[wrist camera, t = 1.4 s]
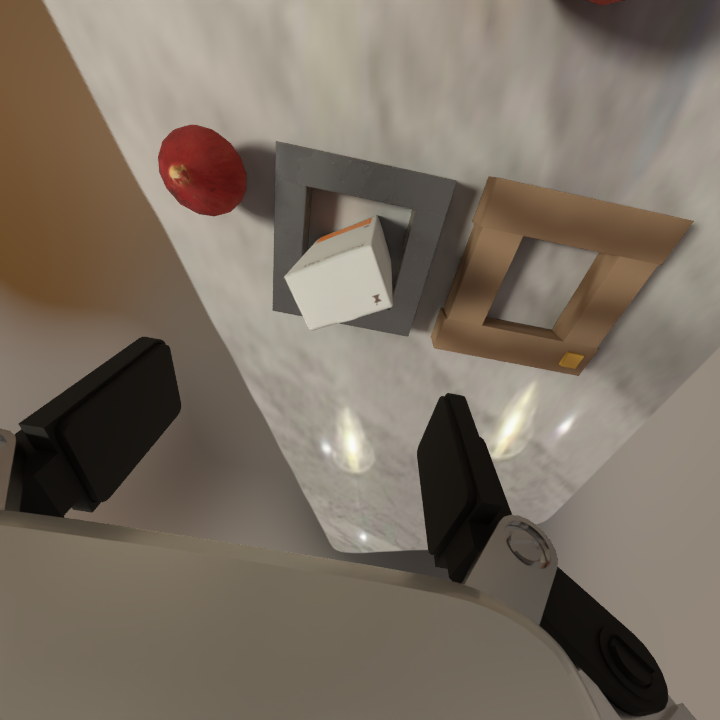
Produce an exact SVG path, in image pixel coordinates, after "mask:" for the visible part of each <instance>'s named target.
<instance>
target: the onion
mask: <svg viewBox="0 0 720 720" xmlns="http://www.w3.org/2000/svg"><path fill="white" fill-rule="evenodd" d="M158 162H159V172H160V175H161V177H162V179H163V181H164V184H165V186H166V188H167V189H168V190H169V192H170V193H171V194H172V195H173V196H174V197H175V199H176V200H177V201H178V202H179V203H180V204H181V205H183V206H185V207H187V208H189V209H190V210H192V211H194V212H196V213H198V214H202V215H209V216H217V215H221V214H225V213H228V212H231V211H232V210H233V209H234V208H235V207H236V206H237V205H238V204H239V203H240V202H241V201H242V199H243V197H244V194H245V191H246V171H245V168H244V165H243V163H242V160H241V157H240V156H239V154H238V153H237V152H236V150H235V149H234V147H233V146H232V145H231V143H230V142H228V141H227V140H226V139H225V138H223V137H222V136H221V135H219V134H218V133H217V132H215V131H214V130H212V129H209V128H205V127H202V126H198V125H188V126H184V127H181V128H177V129H175V130H173V131H172V132H171V133H170V134H169V135H168V136H167V137H166V138H165V139H164V140H163V142H162V145H161V149H160V152H159V156H158Z"/></svg>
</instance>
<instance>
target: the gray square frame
mask: <svg viewBox="0 0 720 720" xmlns="http://www.w3.org/2000/svg"><path fill="white" fill-rule="evenodd" d="M456 182H457V181H456V180H452V179H447V178H443V177H438V176H434V175H429V174H424V173H420V172H415V171H411V170H406V169H402V168H397V167H393V166H388V165H383V164H379V163H374V162H370V161H365V160H361V159H356V158H351V157H347V156H342V155H338V154H333V153H329V152H324V151H320V150H315V149H310V148H306V147H301V146H297V145H292V144H288V143H283V142H278V141H276V164H275V218H274V272H273V311H278V312H283V313H288V314H294V315H299V316H302V314H301V311H300V309H299V307H298V305H297V303H296V301H295V299H294V297H293V295H292V292H291V290H290V288H289V286H288V284H287V282H286V280H285V278H284V276H285V275H286V274H287V273H288V272H289V271H290V270H291V269H292V267H293V266H294V265H295V264H296V263H297V262H298V261H299V260H300V259H301V257H302V256H303V255H304V254H305V253H306V252H307V247H308V235H309V222H310V210H311V197H312V187H313V188H318V189H322V190H327V191H332V192H336V193H341V194H346V195H350V196H355V197H360V198H364V199H369V200H374V201H378V202H383V203H388V204H393V205H397V206H402V207H407V208H411V209H412V213H411V217H410V221H409V225H408V229H407V233H406V237H405V241H404V245H403V249H402V253H401V257H400V261H399V265H398V269H397V273H396V277H395V281H394V285H393V289H392V299H393V306H392V307H391V308H388V309H384V310H381V311H378V312H374V313H371V314H368V315H365V316H362V317H359V318H356V319H354V320H351V321H347V322H342V323H340V324H345V325H351V326H356V327H361V328H366V329H371V330H377V331H382V332H387V333H392V334H397V335H402V336H408V335H409V332H410V329H411V326H412V322H413V319H414V316H415V313H416V310H417V306H418V303H419V300H420V297H421V294H422V290H423V287H424V284H425V281H426V278H427V274H428V271H429V268H430V265H431V262H432V258H433V255H434V252H435V249H436V246H437V242H438V239H439V236H440V233H441V230H442V226H443V223H444V220H445V217H446V214H447V210H448V207H449V204H450V201H451V198H452V194H453V191H454V188H455V185H456Z"/></svg>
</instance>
